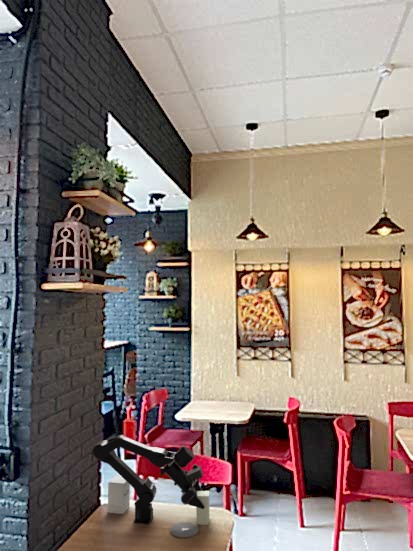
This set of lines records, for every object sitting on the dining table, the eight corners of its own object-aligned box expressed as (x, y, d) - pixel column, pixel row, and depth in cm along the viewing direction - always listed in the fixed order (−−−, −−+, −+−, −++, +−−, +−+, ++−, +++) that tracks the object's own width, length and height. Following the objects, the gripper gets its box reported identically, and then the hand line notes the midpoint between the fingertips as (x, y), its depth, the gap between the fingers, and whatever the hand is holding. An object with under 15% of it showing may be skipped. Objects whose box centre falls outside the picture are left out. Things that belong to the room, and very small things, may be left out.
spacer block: (196, 524, 180) (196, 496, 180) (197, 518, 185) (197, 490, 185) (208, 524, 179) (208, 496, 180) (209, 518, 184) (209, 491, 185)
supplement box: (123, 514, 189) (123, 483, 190) (107, 512, 190) (107, 482, 191) (130, 506, 196) (130, 477, 197) (114, 505, 197) (114, 475, 198)
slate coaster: (166, 535, 171) (166, 533, 171) (175, 522, 181) (175, 520, 181) (193, 539, 168) (193, 537, 168) (201, 525, 179) (201, 524, 179)
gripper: (189, 469, 175) (217, 498, 173) (193, 453, 193) (219, 480, 192) (169, 489, 175) (197, 519, 173) (175, 472, 193) (201, 498, 192)
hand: (204, 503), depth 183 cm, fingers open, 9 cm apart
